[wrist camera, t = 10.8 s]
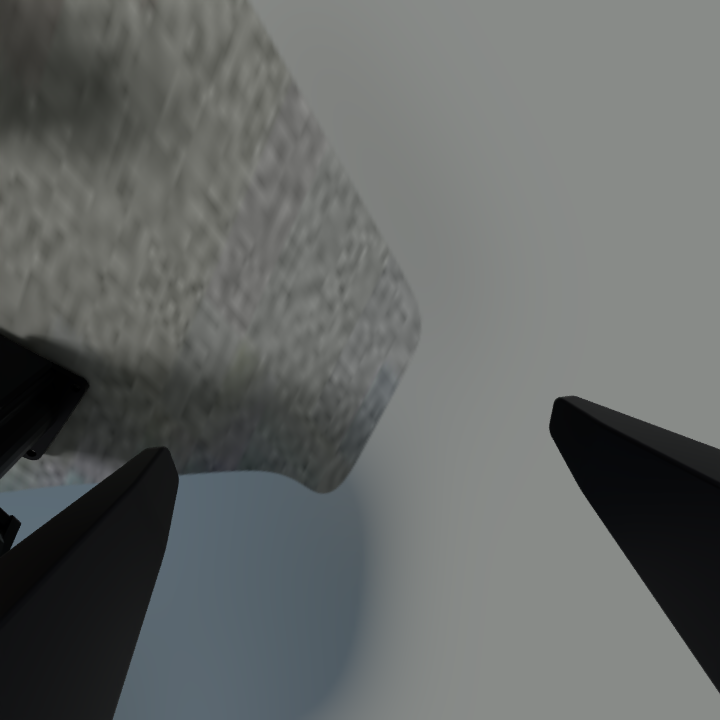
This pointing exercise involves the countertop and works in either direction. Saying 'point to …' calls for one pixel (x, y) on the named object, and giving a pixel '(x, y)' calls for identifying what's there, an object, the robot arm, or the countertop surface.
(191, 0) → the countertop surface
